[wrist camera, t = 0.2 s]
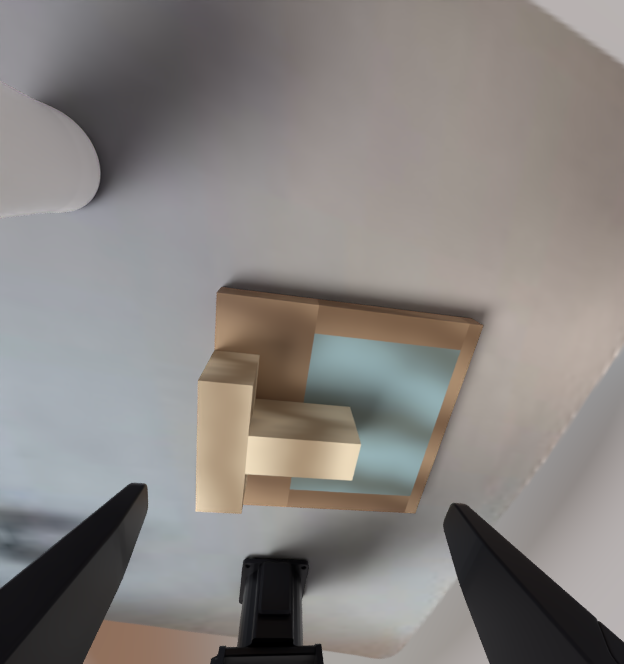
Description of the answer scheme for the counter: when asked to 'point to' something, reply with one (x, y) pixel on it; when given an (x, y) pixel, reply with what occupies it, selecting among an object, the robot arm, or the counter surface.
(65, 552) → the robot arm
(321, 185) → the counter surface
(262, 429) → the t block
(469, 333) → the push board
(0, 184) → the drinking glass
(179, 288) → the counter surface
